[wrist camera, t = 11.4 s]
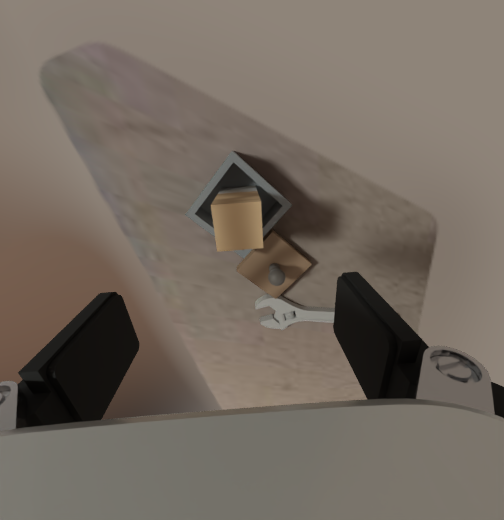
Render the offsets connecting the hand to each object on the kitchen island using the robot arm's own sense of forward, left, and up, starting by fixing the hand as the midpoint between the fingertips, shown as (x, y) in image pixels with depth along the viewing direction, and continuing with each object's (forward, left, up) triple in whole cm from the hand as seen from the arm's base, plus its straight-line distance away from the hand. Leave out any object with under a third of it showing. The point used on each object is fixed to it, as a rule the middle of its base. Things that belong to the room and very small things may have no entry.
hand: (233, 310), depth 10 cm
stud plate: (-10, +4, -24) cm, 26 cm away
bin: (0, 0, -24) cm, 24 cm away
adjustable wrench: (-24, +6, -25) cm, 35 cm away
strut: (0, 0, -23) cm, 23 cm away
